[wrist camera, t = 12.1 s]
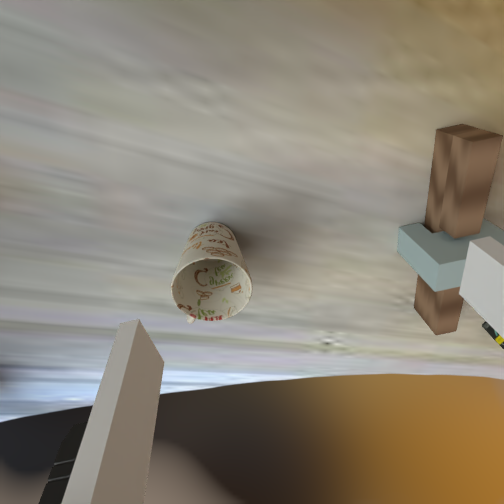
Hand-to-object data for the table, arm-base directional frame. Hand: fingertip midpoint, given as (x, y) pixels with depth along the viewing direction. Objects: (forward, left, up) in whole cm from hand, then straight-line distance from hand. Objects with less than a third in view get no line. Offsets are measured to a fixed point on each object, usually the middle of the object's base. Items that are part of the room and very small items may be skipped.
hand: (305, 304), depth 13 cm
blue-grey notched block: (+17, +23, -26) cm, 39 cm away
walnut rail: (+17, +23, -26) cm, 39 cm away
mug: (+13, -8, -27) cm, 30 cm away
